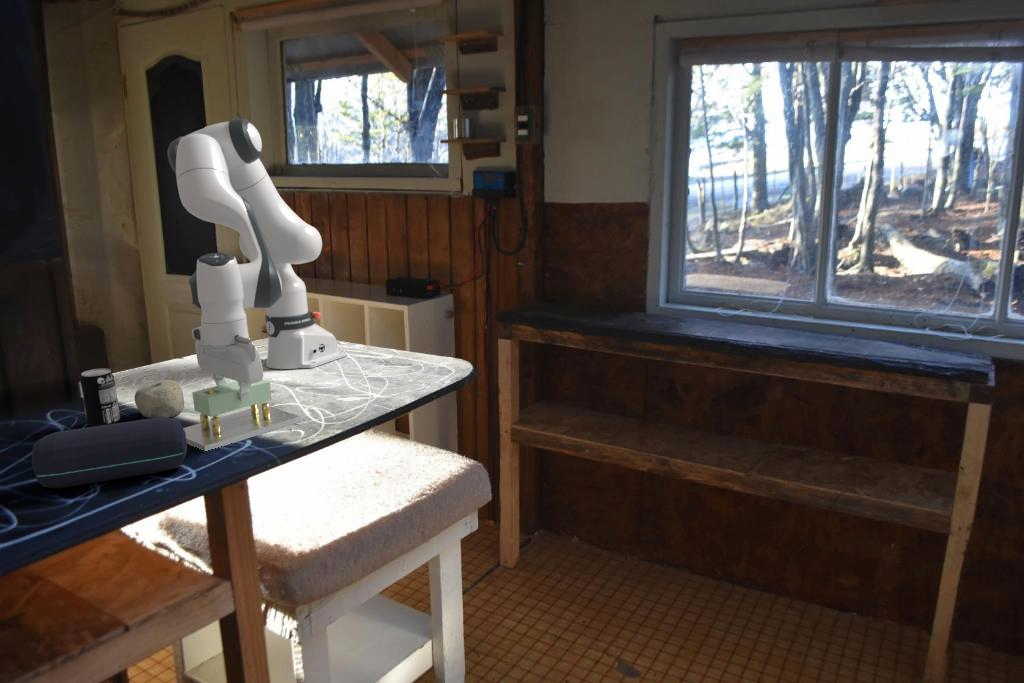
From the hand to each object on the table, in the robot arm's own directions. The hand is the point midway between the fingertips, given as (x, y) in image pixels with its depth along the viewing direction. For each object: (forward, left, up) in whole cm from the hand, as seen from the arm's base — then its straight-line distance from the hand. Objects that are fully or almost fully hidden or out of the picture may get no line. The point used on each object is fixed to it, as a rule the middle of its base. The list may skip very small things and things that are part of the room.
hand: (233, 396), depth 167 cm
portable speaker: (+27, +5, -8) cm, 29 cm away
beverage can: (+16, -28, -7) cm, 33 cm away
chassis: (0, 0, -7) cm, 7 cm away
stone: (+5, -24, -7) cm, 26 cm away
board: (0, 0, -2) cm, 2 cm away
